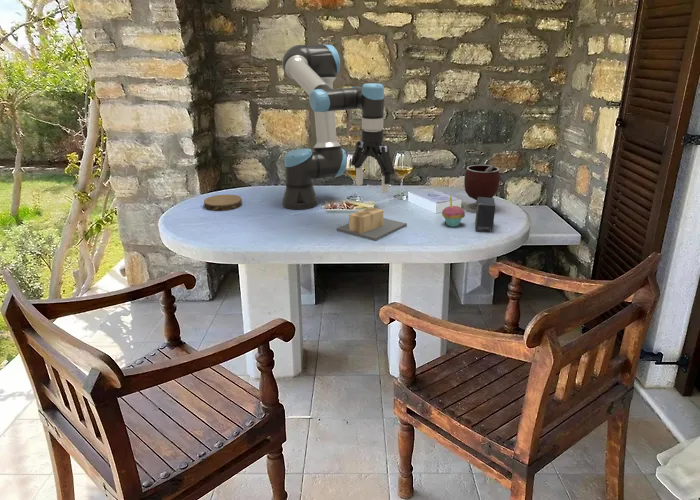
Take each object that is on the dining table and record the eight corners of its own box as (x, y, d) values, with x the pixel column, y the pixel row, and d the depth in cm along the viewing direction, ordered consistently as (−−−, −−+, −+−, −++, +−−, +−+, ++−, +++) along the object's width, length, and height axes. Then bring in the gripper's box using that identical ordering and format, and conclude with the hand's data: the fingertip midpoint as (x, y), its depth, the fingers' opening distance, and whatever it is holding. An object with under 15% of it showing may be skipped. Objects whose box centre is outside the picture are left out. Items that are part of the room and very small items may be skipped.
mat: (336, 230, 193) (336, 228, 192) (368, 217, 207) (368, 214, 207) (375, 240, 182) (375, 238, 182) (406, 225, 196) (406, 223, 196)
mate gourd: (456, 205, 220) (460, 158, 213) (486, 202, 223) (490, 156, 216) (473, 216, 206) (477, 167, 199) (504, 213, 209) (510, 164, 202)
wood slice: (202, 212, 216) (201, 206, 214) (206, 202, 230) (205, 195, 229) (241, 210, 218) (240, 203, 217) (242, 200, 232) (242, 193, 231)
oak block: (371, 222, 198) (349, 229, 190) (371, 207, 196) (349, 214, 188) (383, 225, 194) (361, 233, 186) (383, 210, 192) (361, 217, 184)
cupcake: (451, 229, 192) (453, 198, 188) (436, 223, 199) (438, 193, 194) (468, 225, 196) (471, 194, 192) (453, 219, 203) (455, 189, 199)
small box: (493, 232, 189) (496, 205, 185) (475, 231, 190) (477, 204, 186) (492, 223, 198) (494, 197, 194) (474, 222, 199) (476, 196, 196)
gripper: (406, 133, 174) (403, 193, 183) (356, 124, 192) (356, 179, 200) (390, 136, 170) (388, 198, 178) (341, 126, 187) (341, 183, 195)
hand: (371, 188), depth 189 cm, fingers open, 13 cm apart
